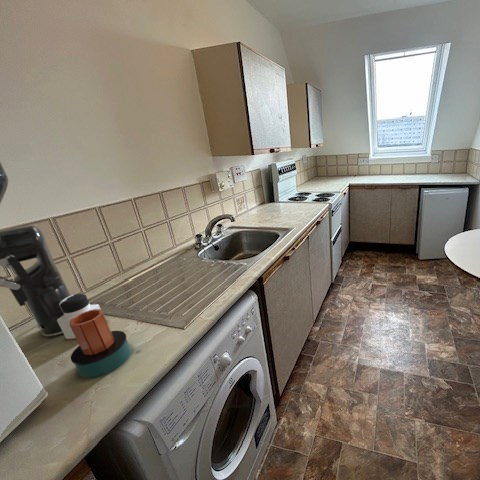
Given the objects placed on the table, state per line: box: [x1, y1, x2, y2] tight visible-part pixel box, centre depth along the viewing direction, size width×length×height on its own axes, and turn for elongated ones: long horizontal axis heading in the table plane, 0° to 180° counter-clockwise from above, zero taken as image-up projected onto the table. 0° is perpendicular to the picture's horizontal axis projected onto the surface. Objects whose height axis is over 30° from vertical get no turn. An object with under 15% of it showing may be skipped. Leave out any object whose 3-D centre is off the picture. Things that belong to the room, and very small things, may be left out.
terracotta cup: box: [70, 308, 114, 355], centre depth 67 cm, size 6×6×9 cm
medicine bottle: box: [57, 293, 101, 340], centre depth 80 cm, size 7×7×12 cm
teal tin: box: [70, 330, 132, 379], centre depth 69 cm, size 11×11×5 cm
